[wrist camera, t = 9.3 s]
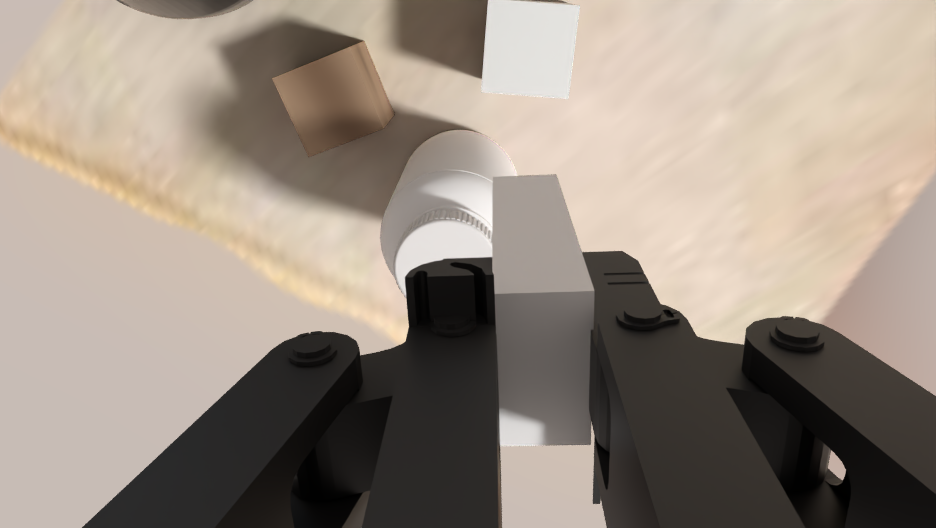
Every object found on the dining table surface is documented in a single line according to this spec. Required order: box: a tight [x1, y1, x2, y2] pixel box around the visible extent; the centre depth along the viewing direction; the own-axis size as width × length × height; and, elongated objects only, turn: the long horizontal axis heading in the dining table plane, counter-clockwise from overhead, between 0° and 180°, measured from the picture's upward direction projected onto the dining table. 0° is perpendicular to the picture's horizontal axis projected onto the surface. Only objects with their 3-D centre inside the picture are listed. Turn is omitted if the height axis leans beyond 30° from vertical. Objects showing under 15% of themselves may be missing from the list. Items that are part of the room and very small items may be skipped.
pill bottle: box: [380, 130, 517, 297], centre depth 40 cm, size 8×8×15 cm
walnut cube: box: [272, 41, 395, 157], centre depth 43 cm, size 5×5×5 cm
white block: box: [481, 0, 580, 99], centre depth 41 cm, size 5×5×6 cm
